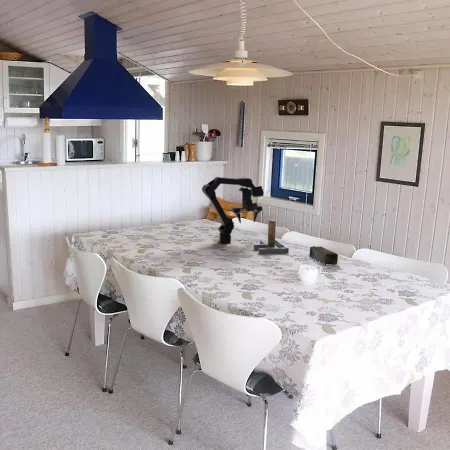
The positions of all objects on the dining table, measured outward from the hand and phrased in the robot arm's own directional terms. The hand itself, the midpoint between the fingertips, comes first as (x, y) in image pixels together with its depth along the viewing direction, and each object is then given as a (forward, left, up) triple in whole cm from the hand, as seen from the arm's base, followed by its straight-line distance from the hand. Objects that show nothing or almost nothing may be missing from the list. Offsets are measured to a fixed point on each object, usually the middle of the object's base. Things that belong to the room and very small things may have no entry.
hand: (247, 222), depth 337 cm
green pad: (+11, -15, -12) cm, 22 cm away
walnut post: (+11, -16, -12) cm, 23 cm away
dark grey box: (+30, -49, -13) cm, 59 cm away
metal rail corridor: (+7, -21, -12) cm, 25 cm away
